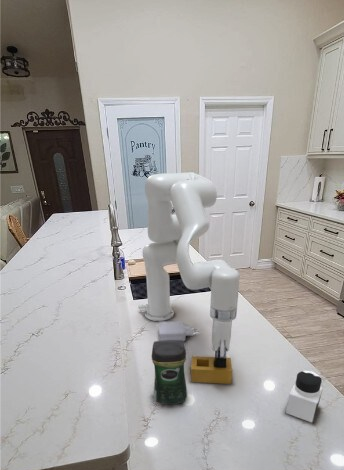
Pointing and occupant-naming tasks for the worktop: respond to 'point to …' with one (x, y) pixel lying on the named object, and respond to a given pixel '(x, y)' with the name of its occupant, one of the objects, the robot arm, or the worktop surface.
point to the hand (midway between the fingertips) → (220, 363)
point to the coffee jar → (169, 371)
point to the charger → (174, 331)
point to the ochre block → (210, 370)
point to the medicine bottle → (305, 396)
